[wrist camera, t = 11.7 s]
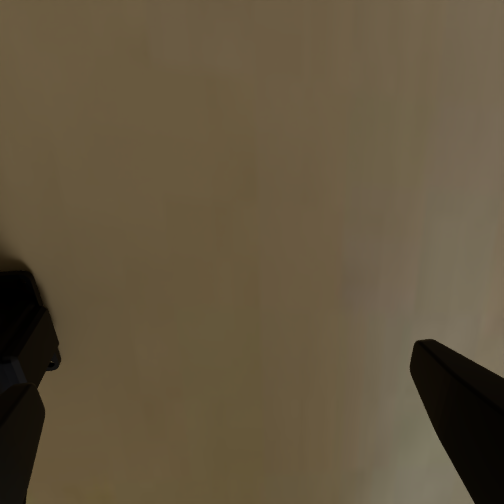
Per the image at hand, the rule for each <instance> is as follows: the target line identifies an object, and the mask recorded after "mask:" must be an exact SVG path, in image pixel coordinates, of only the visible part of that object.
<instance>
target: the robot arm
mask: <svg viewBox="0 0 504 504" xmlns="http://www.w3.org/2000/svg"><path fill="white" fill-rule="evenodd" d="M19 278H21V279H24V280H25V281H26V283H22V282H21V281H20V280H19ZM58 345H59V341H58V338H57V335H56V332H55V329H54V326H53V323H52V320H51V317H50V314H49V311H48V309H47V308H46V307H45V306H43V303H42V300H41V297H40V294H39V291H38V288H37V285H36V282H35V279H34V277H33V275H32V274H31V273H29V272H27V271H22V270H20V271H8V272H0V504H26V495H27V488H28V485H29V481H30V477H31V474H32V469H33V465H34V461H35V457H36V453H37V448H38V444H39V440H40V436H41V432H42V427H43V423H44V419H45V408H44V405H43V402H42V400H41V397H40V395H39V392H38V390H37V388H38V386H39V384H40V382H41V380H42V378H43V376H44V374H45V372H46V371H52V370H56V369H57V368H58V367H59V365H60V362H61V357H60V354H59V351H58V348H57V347H58ZM50 361H52V362H54V363H52V362H50ZM410 373H411V376H412V378H413V381H414V383H415V385H416V388H417V390H418V392H419V395H420V397H421V399H422V402H423V404H424V407H425V409H426V411H427V414H428V416H429V418H430V421H431V423H432V425H433V427H434V430H435V432H436V434H437V436H438V438H439V440H440V441H441V443H442V445H443V447H444V449H445V451H446V452H447V454H448V456H449V458H450V460H451V461H452V463H453V465H454V467H455V469H456V471H457V472H458V474H459V476H460V478H461V480H462V481H463V483H464V485H465V487H466V489H467V490H468V492H469V494H470V496H471V498H472V500H473V501H474V503H475V504H504V378H502V377H501V376H499V375H497V374H495V373H493V372H492V371H490V370H488V369H486V368H484V367H482V366H481V365H479V364H477V363H475V362H473V361H472V360H470V359H468V358H466V357H464V356H463V355H461V354H459V353H457V352H455V351H454V350H452V349H450V348H448V347H446V346H445V345H443V344H441V343H439V342H437V341H436V340H433V339H425V340H418V341H416V342H415V343H414V347H413V352H412V357H411V362H410Z"/></svg>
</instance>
